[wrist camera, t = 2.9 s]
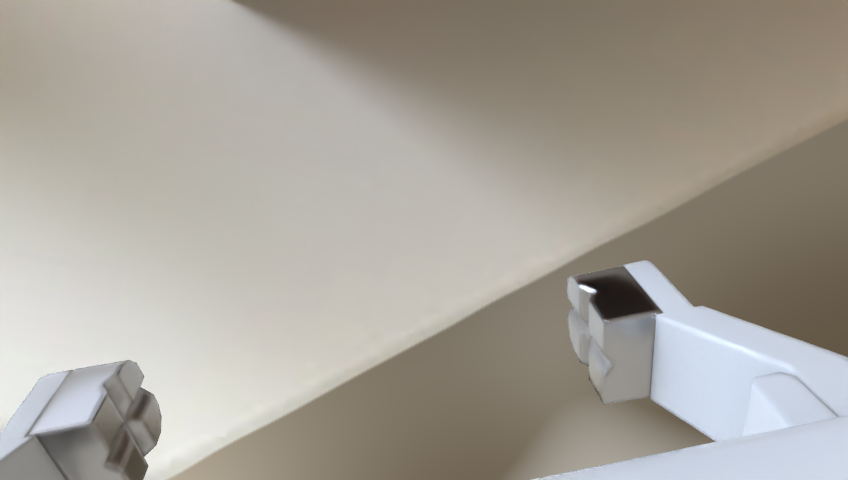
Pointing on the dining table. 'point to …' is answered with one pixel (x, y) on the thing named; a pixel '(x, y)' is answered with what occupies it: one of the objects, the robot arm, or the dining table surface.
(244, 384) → the dining table surface
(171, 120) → the dining table surface
